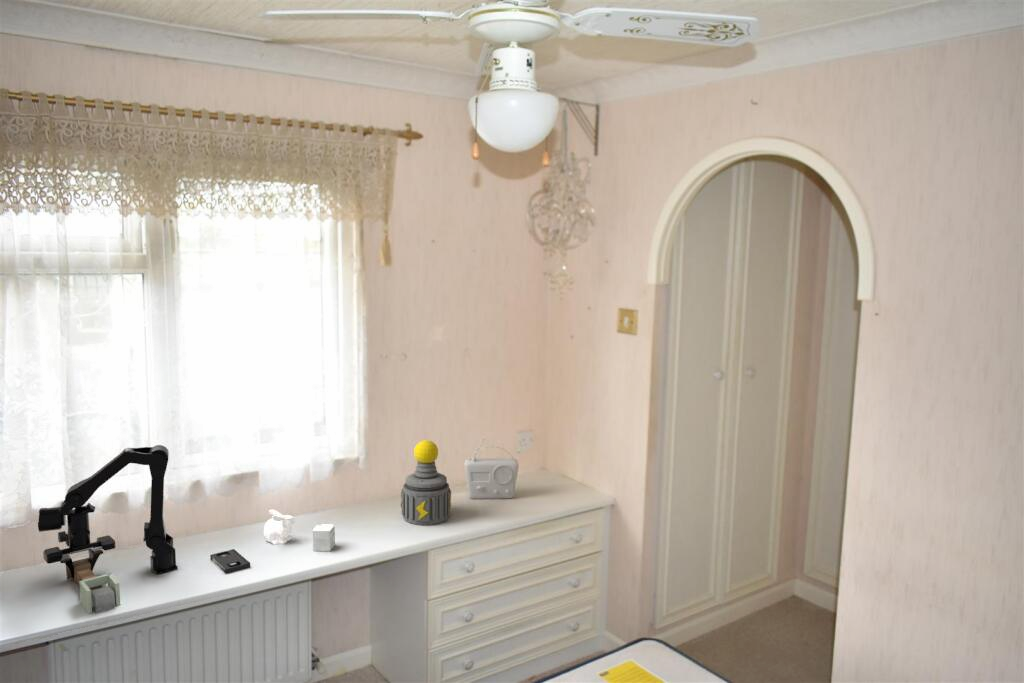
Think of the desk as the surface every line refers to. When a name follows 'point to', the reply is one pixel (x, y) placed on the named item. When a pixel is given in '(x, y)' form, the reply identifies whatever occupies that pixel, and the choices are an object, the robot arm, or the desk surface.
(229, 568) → the vhs tape
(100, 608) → the block
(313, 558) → the desk surface
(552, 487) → the desk surface
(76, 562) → the brown wooden stepped block
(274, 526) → the rabbit
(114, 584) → the cradle
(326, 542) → the skincare box
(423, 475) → the decorative lamp
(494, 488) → the radio
